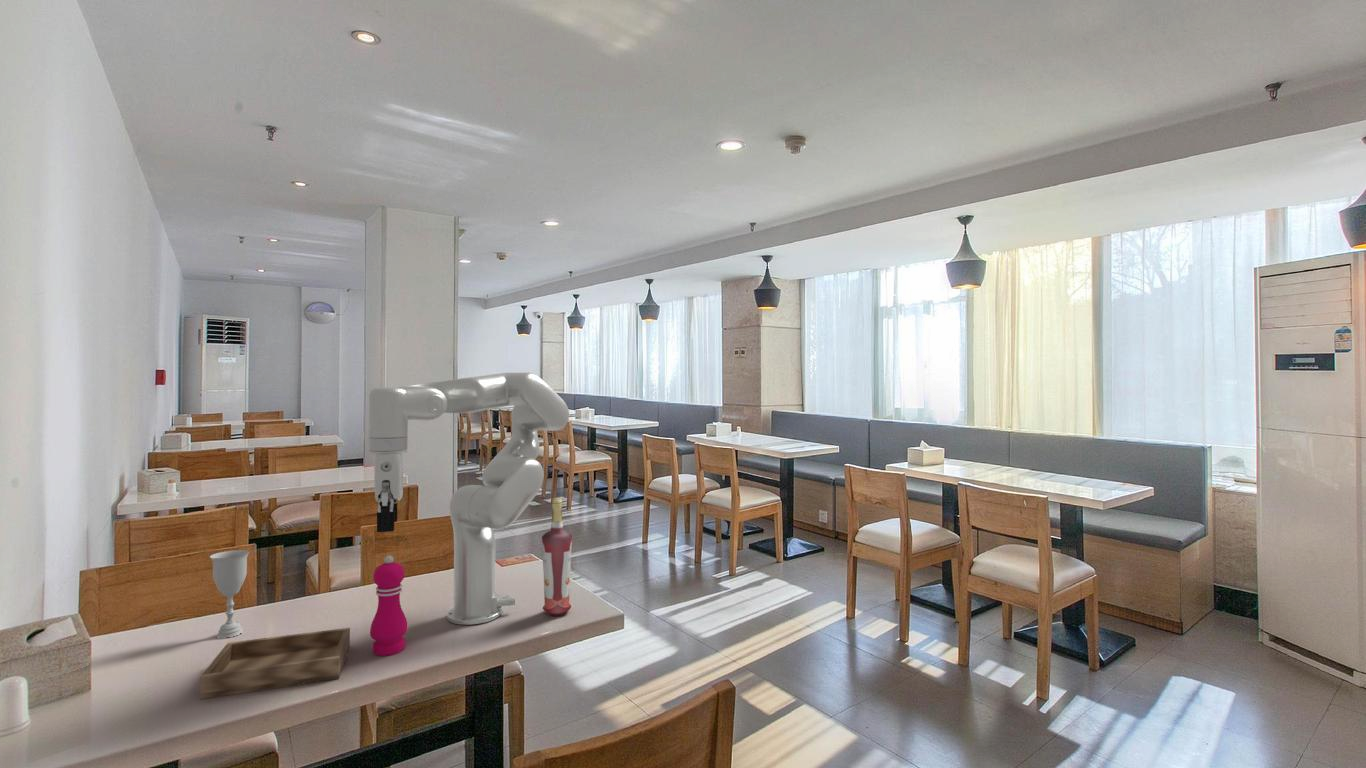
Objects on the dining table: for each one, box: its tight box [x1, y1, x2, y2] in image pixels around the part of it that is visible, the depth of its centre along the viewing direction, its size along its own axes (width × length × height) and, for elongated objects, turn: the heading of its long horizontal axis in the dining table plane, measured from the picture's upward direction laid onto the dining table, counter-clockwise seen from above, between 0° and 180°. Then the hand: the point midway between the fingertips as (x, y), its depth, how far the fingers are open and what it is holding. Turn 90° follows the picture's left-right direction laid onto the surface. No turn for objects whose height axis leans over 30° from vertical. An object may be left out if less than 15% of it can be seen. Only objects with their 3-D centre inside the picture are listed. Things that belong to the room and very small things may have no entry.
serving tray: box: [199, 627, 351, 700], centre depth 125 cm, size 22×16×4 cm
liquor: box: [541, 497, 573, 617], centre depth 156 cm, size 7×7×28 cm
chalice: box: [209, 549, 250, 639], centre depth 143 cm, size 7×7×18 cm
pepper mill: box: [369, 555, 409, 657], centre depth 134 cm, size 7×7×20 cm
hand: (387, 526), depth 134 cm, fingers open, 9 cm apart
